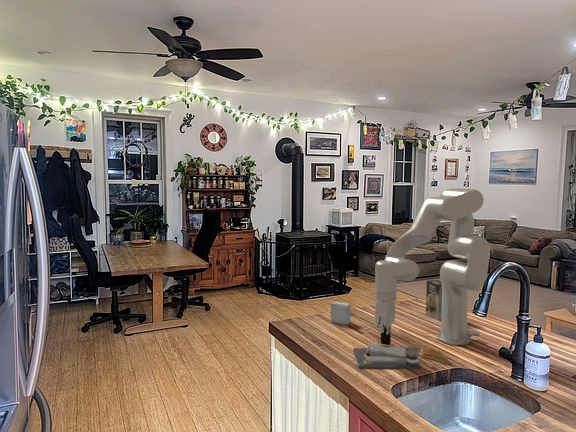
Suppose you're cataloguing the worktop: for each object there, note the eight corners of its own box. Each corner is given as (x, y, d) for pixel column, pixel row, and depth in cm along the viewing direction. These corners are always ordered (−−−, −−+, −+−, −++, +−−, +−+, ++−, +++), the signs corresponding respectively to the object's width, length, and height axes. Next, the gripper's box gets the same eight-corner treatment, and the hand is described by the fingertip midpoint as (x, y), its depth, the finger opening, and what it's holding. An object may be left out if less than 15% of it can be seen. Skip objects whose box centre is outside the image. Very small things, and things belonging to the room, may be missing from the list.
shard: (450, 366, 139) (450, 361, 139) (428, 366, 139) (428, 361, 139) (438, 352, 150) (438, 348, 150) (417, 353, 150) (417, 348, 150)
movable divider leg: (418, 359, 141) (419, 347, 140) (417, 364, 136) (418, 352, 136) (367, 351, 147) (367, 340, 147) (365, 356, 143) (365, 345, 143)
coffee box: (425, 313, 193) (426, 280, 192) (436, 312, 195) (437, 279, 193) (437, 319, 184) (438, 285, 183) (449, 318, 186) (450, 284, 185)
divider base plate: (409, 351, 151) (409, 344, 151) (421, 368, 137) (421, 360, 137) (353, 350, 151) (353, 343, 151) (358, 368, 137) (358, 360, 137)
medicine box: (350, 322, 182) (350, 303, 181) (346, 325, 178) (346, 306, 177) (334, 319, 186) (334, 300, 185) (330, 322, 182) (330, 303, 181)
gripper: (382, 288, 155) (382, 335, 156) (368, 298, 142) (368, 349, 144) (401, 291, 151) (401, 338, 153) (389, 301, 138) (389, 353, 140)
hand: (385, 343), depth 148 cm, fingers closed
